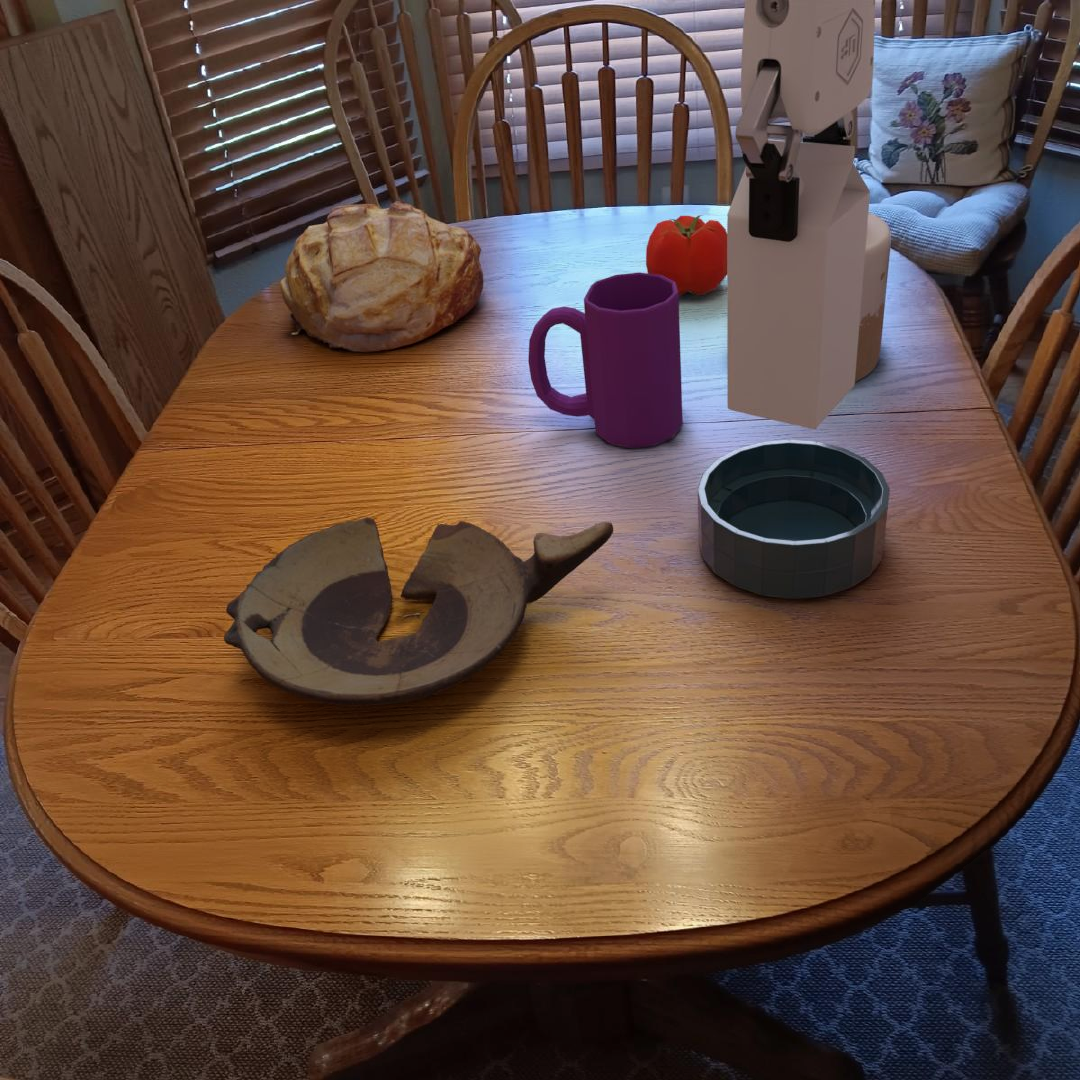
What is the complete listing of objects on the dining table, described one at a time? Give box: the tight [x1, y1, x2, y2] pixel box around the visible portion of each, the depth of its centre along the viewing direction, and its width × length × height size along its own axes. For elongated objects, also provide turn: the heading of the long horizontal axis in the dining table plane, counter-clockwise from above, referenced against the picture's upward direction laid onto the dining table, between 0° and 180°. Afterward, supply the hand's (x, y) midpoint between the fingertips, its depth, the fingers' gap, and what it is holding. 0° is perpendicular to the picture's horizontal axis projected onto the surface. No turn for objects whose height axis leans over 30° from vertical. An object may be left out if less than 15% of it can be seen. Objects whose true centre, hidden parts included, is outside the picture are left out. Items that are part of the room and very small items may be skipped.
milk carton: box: [726, 138, 871, 430], centre depth 73 cm, size 7×7×19 cm
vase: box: [855, 211, 892, 382], centre depth 111 cm, size 15×15×17 cm
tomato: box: [645, 214, 727, 296], centre depth 131 cm, size 11×11×9 cm
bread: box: [279, 199, 484, 353], centre depth 134 cm, size 25×27×15 cm
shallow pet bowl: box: [697, 439, 891, 600], centre depth 88 cm, size 15×15×6 cm
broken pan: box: [223, 516, 614, 707], centre depth 82 cm, size 22×30×8 cm
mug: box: [528, 272, 684, 449], centre depth 104 cm, size 9×16×15 cm, turn 75°
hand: (799, 215), depth 71 cm, fingers closed on milk carton, 7 cm apart
